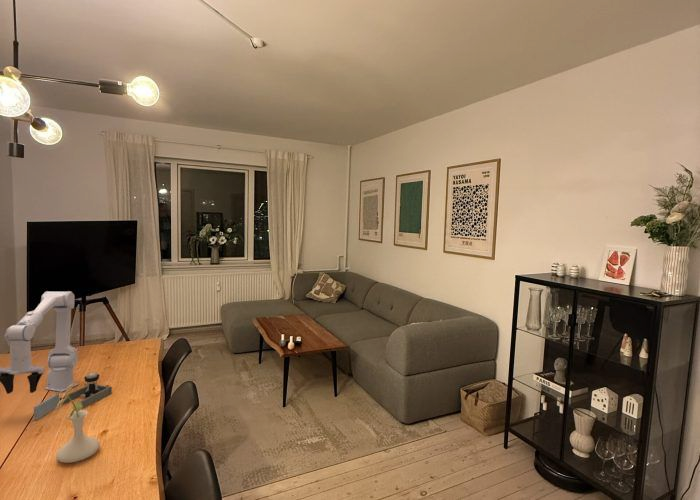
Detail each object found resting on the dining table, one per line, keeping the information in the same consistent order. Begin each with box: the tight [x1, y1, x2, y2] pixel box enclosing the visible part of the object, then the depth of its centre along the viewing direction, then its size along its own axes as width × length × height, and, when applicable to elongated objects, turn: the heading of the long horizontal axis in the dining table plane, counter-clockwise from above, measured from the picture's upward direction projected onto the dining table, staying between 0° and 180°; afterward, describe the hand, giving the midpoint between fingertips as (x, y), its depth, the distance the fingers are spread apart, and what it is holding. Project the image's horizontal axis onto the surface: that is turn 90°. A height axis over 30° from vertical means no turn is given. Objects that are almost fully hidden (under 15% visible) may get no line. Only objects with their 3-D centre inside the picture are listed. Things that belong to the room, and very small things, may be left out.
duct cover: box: [33, 392, 60, 421], centre depth 142 cm, size 12×1×5 cm, turn 2°
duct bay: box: [59, 384, 113, 410], centre depth 154 cm, size 11×14×3 cm
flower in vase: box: [54, 384, 101, 464], centre depth 116 cm, size 13×11×25 cm
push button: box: [80, 371, 101, 399], centre depth 155 cm, size 7×5×10 cm
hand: (21, 392), depth 137 cm, fingers open, 7 cm apart
